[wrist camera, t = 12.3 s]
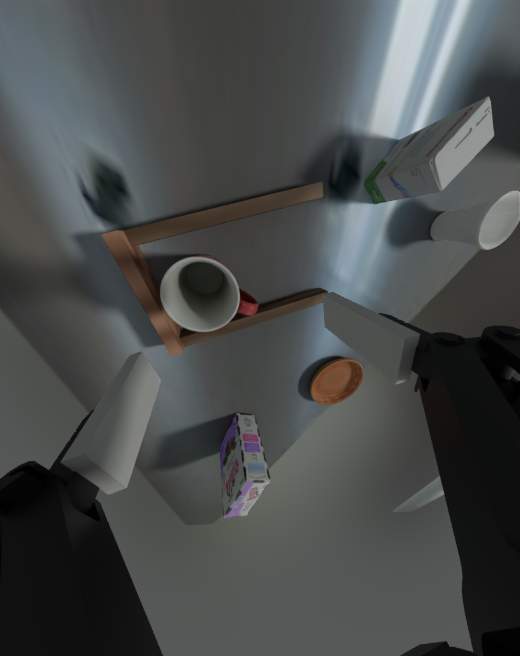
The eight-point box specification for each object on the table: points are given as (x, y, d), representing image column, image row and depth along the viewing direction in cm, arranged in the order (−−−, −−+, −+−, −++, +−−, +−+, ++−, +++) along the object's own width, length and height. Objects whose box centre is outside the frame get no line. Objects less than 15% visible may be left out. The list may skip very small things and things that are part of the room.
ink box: (374, 205, 35) (442, 193, 25) (362, 182, 33) (430, 159, 23) (411, 164, 34) (499, 134, 24) (400, 137, 32) (492, 91, 21)
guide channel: (117, 234, 28) (100, 234, 24) (313, 185, 32) (329, 178, 27) (175, 342, 38) (171, 356, 33) (320, 296, 41) (334, 303, 37)
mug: (170, 289, 33) (149, 318, 22) (186, 238, 31) (173, 240, 19) (236, 313, 38) (248, 348, 26) (255, 271, 35) (278, 289, 24)
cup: (455, 238, 43) (517, 239, 34) (419, 252, 42) (474, 257, 34) (464, 193, 39) (538, 180, 30) (425, 208, 38) (489, 200, 29)
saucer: (316, 405, 58) (321, 414, 55) (297, 374, 50) (302, 381, 48) (361, 379, 58) (368, 386, 55) (349, 343, 50) (357, 349, 47)
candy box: (235, 411, 50) (246, 482, 36) (255, 414, 53) (272, 481, 38) (218, 445, 55) (222, 520, 41) (237, 446, 57) (247, 517, 43)
